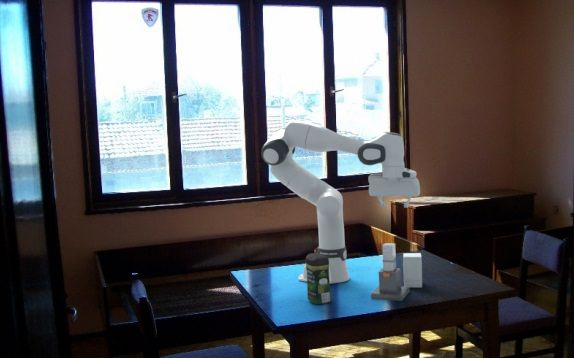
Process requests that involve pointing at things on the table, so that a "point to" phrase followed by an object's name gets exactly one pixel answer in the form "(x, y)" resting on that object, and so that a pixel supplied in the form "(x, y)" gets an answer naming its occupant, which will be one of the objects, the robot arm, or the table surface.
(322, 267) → the coffee jar
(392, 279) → the stand
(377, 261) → the table surface
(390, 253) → the column
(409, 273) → the supplement box
